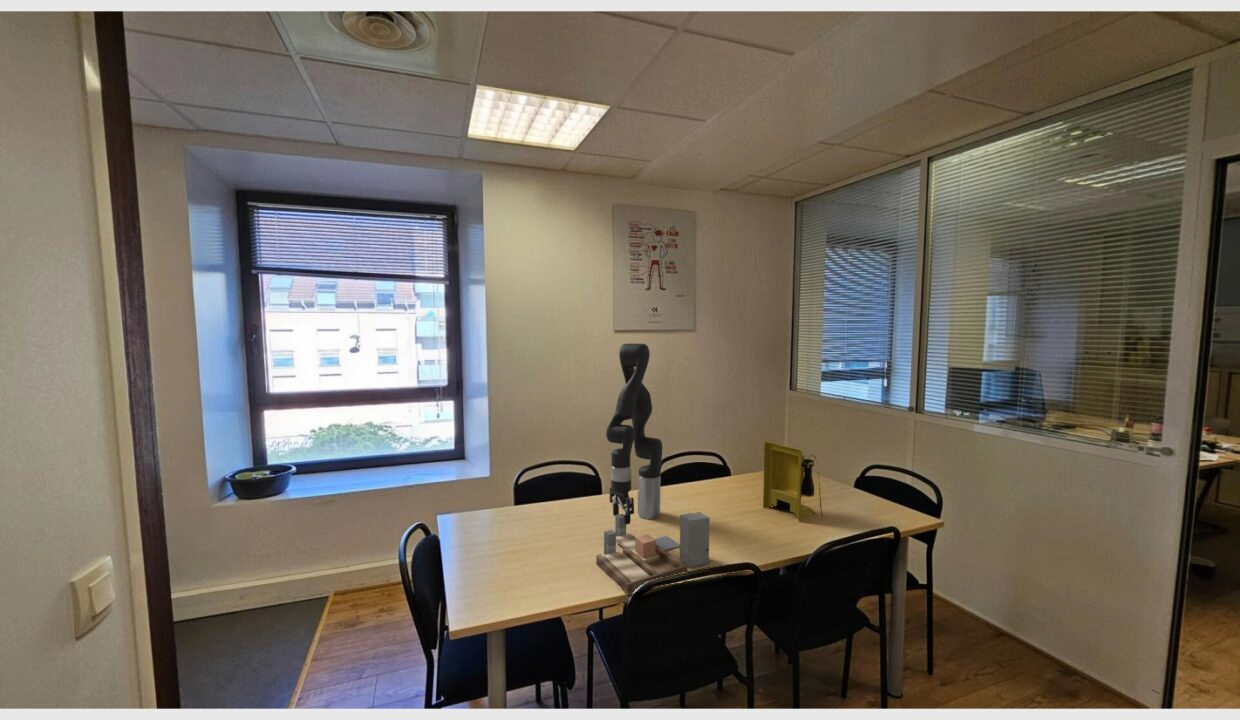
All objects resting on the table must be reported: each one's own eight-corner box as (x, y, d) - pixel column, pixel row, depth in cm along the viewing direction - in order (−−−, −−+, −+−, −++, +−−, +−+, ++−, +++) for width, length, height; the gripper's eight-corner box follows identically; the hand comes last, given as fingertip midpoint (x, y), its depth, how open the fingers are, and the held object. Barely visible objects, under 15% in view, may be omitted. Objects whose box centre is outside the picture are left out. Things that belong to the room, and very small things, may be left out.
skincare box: (689, 568, 150) (689, 521, 149) (678, 558, 157) (678, 513, 156) (710, 563, 154) (711, 517, 153) (698, 553, 160) (699, 509, 159)
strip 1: (611, 537, 170) (611, 516, 170) (626, 533, 174) (626, 512, 173) (643, 563, 151) (643, 540, 150) (659, 559, 154) (660, 536, 154)
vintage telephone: (836, 521, 188) (839, 449, 186) (817, 529, 180) (819, 454, 178) (772, 497, 214) (774, 434, 212) (753, 504, 206) (754, 438, 204)
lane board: (596, 564, 153) (596, 554, 153) (651, 548, 164) (651, 539, 164) (628, 595, 135) (628, 584, 134) (687, 576, 146) (687, 565, 145)
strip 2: (599, 555, 157) (599, 532, 156) (616, 550, 160) (616, 528, 159) (633, 587, 137) (633, 561, 137) (651, 581, 140) (651, 556, 140)
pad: (646, 542, 169) (646, 541, 169) (666, 536, 173) (666, 535, 173) (660, 552, 161) (660, 551, 161) (681, 546, 165) (681, 545, 165)
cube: (635, 551, 157) (635, 537, 156) (647, 548, 159) (647, 534, 159) (643, 557, 152) (643, 543, 152) (655, 554, 155) (655, 540, 155)
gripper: (603, 473, 173) (603, 514, 175) (622, 485, 161) (622, 529, 163) (620, 470, 177) (620, 510, 179) (639, 481, 165) (640, 524, 166)
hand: (621, 519), depth 171 cm, fingers open, 8 cm apart
